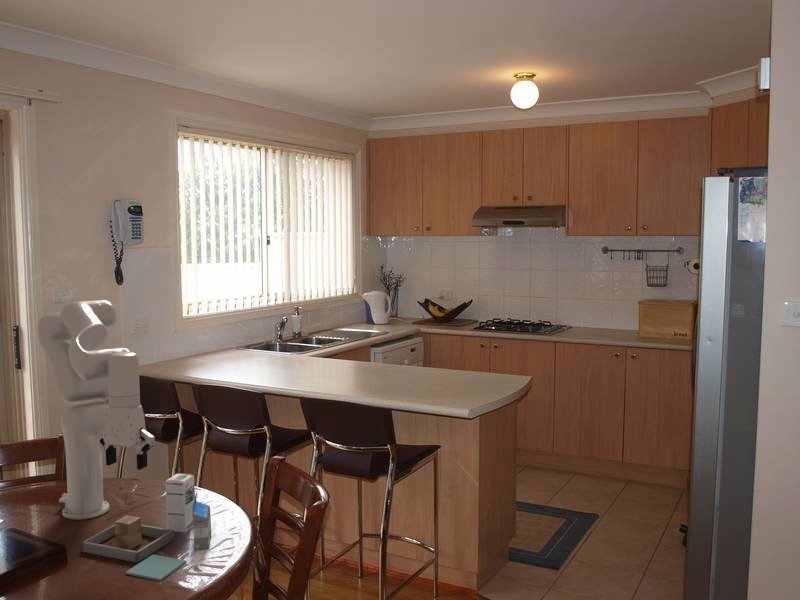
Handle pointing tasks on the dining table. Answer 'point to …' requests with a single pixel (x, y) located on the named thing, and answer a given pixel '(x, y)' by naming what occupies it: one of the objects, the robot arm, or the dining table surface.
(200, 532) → the label tape box
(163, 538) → the grey rectangular frame
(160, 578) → the mat
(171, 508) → the syrup box
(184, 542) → the dining table surface
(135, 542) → the wooden block
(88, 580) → the dining table surface
